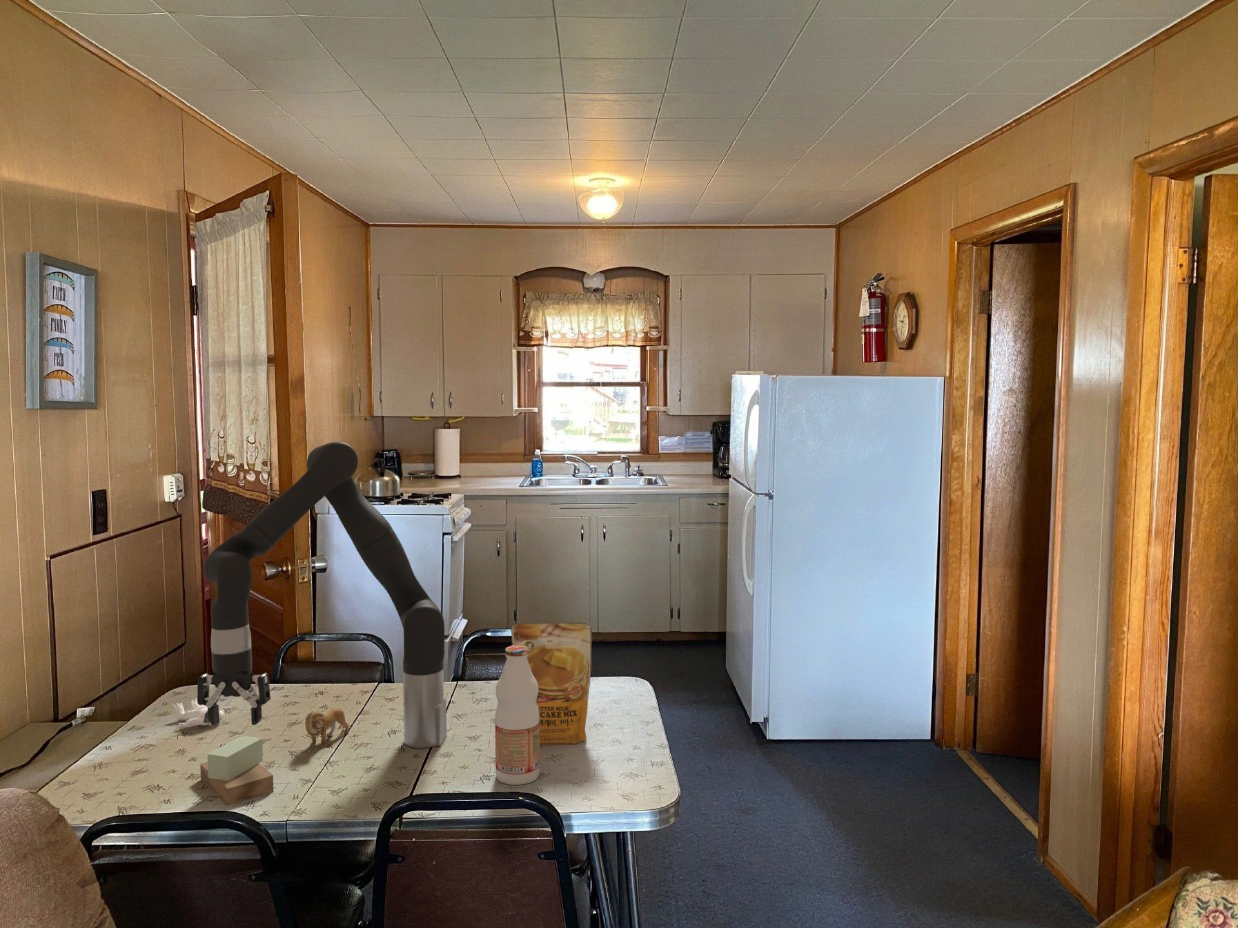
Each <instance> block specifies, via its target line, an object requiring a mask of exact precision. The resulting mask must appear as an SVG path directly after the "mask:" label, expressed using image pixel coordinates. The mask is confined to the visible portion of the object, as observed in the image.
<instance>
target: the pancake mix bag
mask: <svg viewBox="0 0 1238 928" xmlns="http://www.w3.org/2000/svg"><path fill="white" fill-rule="evenodd" d="M510 634H511V646H514V645H521V646H526V647H528V652H529V653H528V656H527V660H528V663H529V666H530V668H531V671H532V674H533V676H534V677H535V679H536V681H537V683H538V689H539V691H538V696H537V700H536V702H537V705H538V708H539V741H540V745H541V746H548V745H549V746H551V745H552V746H553V745H554V746H555V745H558V746H559V745H561V746H562V745H565V746H569V745H578V744H579V743H581V742H587V741H588V740H587V734H586V725H587V723H586V722H587V716H588V708H589V707H588V705H589V694H590V685H591V673H592V650H593V649H592V644H593V643H592V642H593V630H592V626H591V625H589V626H588V625H587V622H581V621H579V622H577V621H576V622H526V623H525V622H524V623H523V622H522V623H516V624H514V625H513V626H511V627H510Z"/></svg>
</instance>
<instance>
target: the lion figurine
mask: <svg viewBox="0 0 1238 928" xmlns="http://www.w3.org/2000/svg"><path fill="white" fill-rule="evenodd" d="M304 720H305V722H304V724H305V730H306V732H307V734H308V735H310V736H311V741H312V742H310V745H309V746H310V747H315V746H316V745H317V738H316V737H317V736H319V735H320V736H321V741H320V747H322V748H324V747H327V737H331V736H332V735H333V734H334V732H335V730H336V723H338V724H339V725H340V726H342V729H345V730H344V731H343V734H345V735H348V734H349V733H350V728H349V724H348V722H347V721H346V716H345V712H344V711H343V709H341V708H338V707H337V708H332V709H330V710H329V711H328V712H326V713H325V714H323V713H322V712H320V711H318V710H313V711H311V712H310V713H308V714H307V715H306V717H305V719H304ZM327 730H330V731H329V732H328V733H327Z"/></svg>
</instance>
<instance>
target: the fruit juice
mask: <svg viewBox="0 0 1238 928" xmlns="http://www.w3.org/2000/svg"><path fill="white" fill-rule="evenodd" d="M528 653H529V652H528V647H526V646H521V645H514V646H512V645H510V646H507V647H506V648H505V650H504V654H505V658H506V660H505V664H504V667H503V670H502V673H501V676H500V677H499V679H498V680H497V682H496V685H495V697H496V699H497V705H496V708H495V714H494V718H495V719H494V731H495V733H494V735H495V736H494V738H495V741H494V743H495V745H494V746H495V747H494V749H495V750H494V751H495V755H494V757H495V759H494V761H495V776H496V779H497V780H498V781H499V782H500V783H502V784H505V785H509V786H519V785H526V784H529V783H532V782H534V781H536V780H537V779H538V777H539V776H540V772H541V771H540V767H541V766H540V763H541V762H540V759H541V758H540V756H541V755H540V754H541V753H540V749H541V748H540V741H539V708H538V705H537V702H536V700H537V696H538V691H539V689H538V683H537V681H536V679H535V677H534V676H533V674H532V671H531V668H530V666H529V663H528V660H527V656H528Z"/></svg>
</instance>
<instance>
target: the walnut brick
mask: <svg viewBox="0 0 1238 928" xmlns="http://www.w3.org/2000/svg"><path fill="white" fill-rule="evenodd" d="M199 766H200V768H199V770H200V781H201V782H202V783H204V784H205V786H206V787H208V788H209V789H210V790H211V791H212V792H213V793H214V794H215V795H216V796H218V798H220V800H221V801H223V802H224V803H225V804H226V805H227V806H228V807H229V806H232V805H236V804H238V803H241V802H245V801H247V800H251V799H255V798H257V797H261V796H263V795H264V796H265V795H267V794H270V793H273V792H274V790H275V789H274V774H272V773H271V772H269V770H267V769H266V768H265V767H263V766H262V765H261V763H259V764H257V765H255V766H254V767H252V768H250V769H248V770H247V771H245V772H243V773H241V774H240V775H238V776H236V777H234V778H233V779H231V780H229V781H225V780H219V779H213V778H208V761H206V762H203V763H200V765H199Z"/></svg>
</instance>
